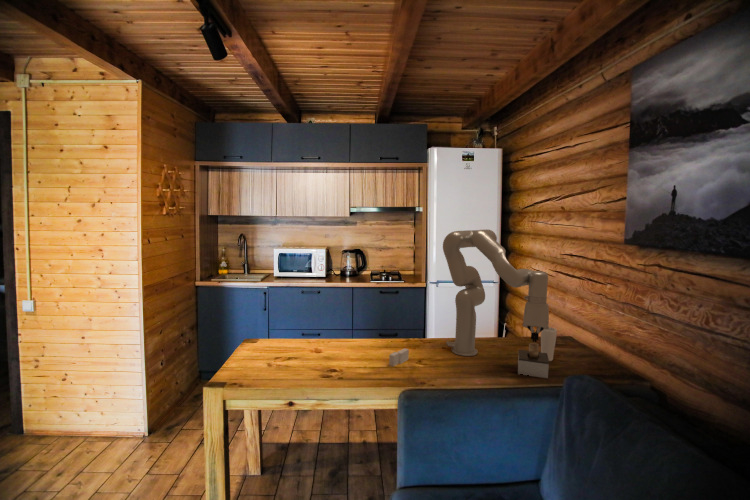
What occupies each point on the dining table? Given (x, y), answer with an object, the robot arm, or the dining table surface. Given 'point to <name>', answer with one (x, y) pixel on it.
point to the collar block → (533, 364)
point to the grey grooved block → (398, 357)
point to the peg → (533, 350)
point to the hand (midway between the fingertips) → (534, 341)
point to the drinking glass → (548, 342)
